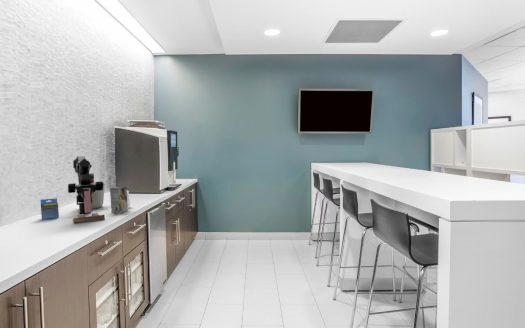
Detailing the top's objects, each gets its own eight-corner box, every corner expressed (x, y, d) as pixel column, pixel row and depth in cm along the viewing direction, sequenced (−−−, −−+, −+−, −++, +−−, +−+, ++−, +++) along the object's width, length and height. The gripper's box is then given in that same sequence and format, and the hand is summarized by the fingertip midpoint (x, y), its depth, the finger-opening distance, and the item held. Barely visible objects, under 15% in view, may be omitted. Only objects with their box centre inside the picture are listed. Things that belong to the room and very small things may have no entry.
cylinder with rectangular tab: (132, 206, 242) (132, 190, 241) (123, 209, 233) (123, 191, 232) (122, 206, 244) (122, 189, 244) (113, 208, 236) (112, 191, 235)
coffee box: (119, 210, 229) (118, 186, 228) (128, 210, 227) (126, 186, 226) (110, 213, 220) (109, 188, 219) (119, 213, 218) (118, 188, 217)
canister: (106, 204, 254) (105, 176, 253) (106, 208, 237) (105, 178, 236) (79, 207, 246) (77, 178, 245) (77, 211, 230) (76, 180, 228)
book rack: (72, 220, 199) (72, 214, 199) (102, 216, 208) (101, 211, 208) (73, 223, 190) (73, 218, 190) (104, 219, 198) (104, 214, 198)
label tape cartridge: (59, 216, 211) (58, 197, 210) (58, 218, 208) (57, 198, 207) (42, 218, 207) (41, 198, 207) (41, 219, 204) (40, 199, 203)
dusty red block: (84, 212, 199) (83, 191, 200) (90, 212, 200) (89, 191, 201) (85, 212, 194) (84, 191, 195) (91, 212, 195) (90, 190, 196)
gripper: (67, 170, 195) (69, 190, 186) (102, 168, 205) (105, 187, 196) (67, 182, 202) (69, 203, 193) (101, 180, 212) (104, 199, 203)
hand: (87, 198), depth 196 cm, fingers closed on dusty red block, 3 cm apart
